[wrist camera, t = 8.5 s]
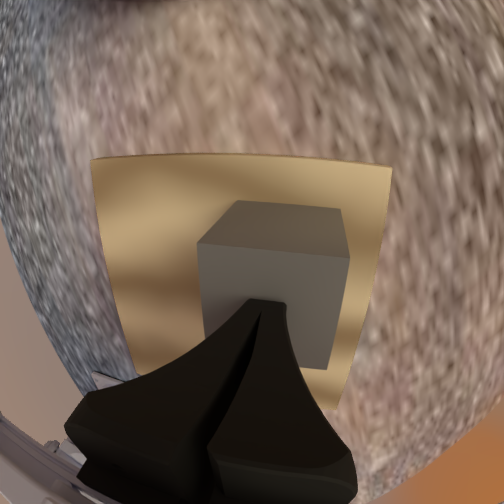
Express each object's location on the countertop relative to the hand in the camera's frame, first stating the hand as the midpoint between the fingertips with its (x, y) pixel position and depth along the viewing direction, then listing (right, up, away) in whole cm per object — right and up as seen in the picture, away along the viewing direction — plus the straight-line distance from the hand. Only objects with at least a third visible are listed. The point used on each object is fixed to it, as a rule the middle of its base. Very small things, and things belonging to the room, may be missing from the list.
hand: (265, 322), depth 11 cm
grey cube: (+1, +3, +5) cm, 6 cm away
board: (-2, 0, +8) cm, 9 cm away
